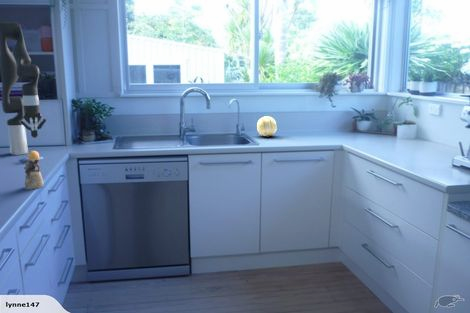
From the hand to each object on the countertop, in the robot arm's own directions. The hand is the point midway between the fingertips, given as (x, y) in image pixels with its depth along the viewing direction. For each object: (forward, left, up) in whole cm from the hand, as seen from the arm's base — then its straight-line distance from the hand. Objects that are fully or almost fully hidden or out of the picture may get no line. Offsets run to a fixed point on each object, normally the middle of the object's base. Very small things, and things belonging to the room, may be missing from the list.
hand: (34, 137), depth 222 cm
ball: (-8, +3, -11) cm, 14 cm away
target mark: (-12, +4, -14) cm, 19 cm away
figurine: (+43, -27, -14) cm, 52 cm away
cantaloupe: (+56, +144, -14) cm, 155 cm away
